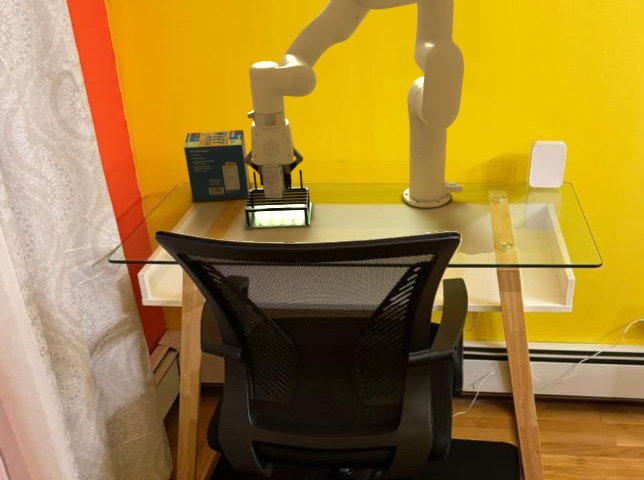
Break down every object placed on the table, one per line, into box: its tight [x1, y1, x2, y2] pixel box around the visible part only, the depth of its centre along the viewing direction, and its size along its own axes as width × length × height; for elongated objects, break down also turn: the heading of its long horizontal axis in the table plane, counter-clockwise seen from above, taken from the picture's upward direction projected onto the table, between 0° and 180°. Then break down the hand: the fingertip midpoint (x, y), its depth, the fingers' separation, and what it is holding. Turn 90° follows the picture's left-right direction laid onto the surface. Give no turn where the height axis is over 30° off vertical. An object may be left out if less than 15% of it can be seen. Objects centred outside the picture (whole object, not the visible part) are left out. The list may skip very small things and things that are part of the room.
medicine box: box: [262, 164, 287, 198], centre depth 198 cm, size 8×4×9 cm, turn 171°
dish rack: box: [244, 169, 312, 230], centre depth 202 cm, size 16×13×10 cm
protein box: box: [183, 129, 251, 203], centre depth 213 cm, size 10×15×16 cm
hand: (276, 186), depth 200 cm, fingers closed on medicine box, 5 cm apart
